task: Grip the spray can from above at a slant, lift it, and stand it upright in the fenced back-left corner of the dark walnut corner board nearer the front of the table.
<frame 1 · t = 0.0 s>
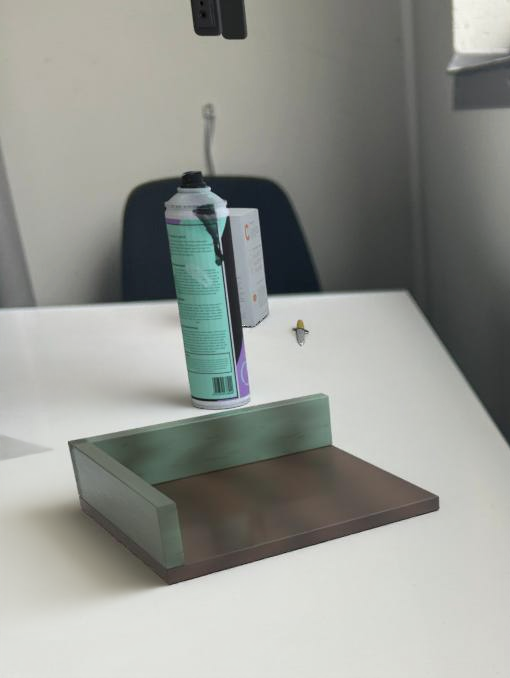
hand: (222, 37, 88), 30 cm above the table, tool pointing down, fingers open, 8 cm apart
dagger: (301, 337, 123), on the table
corner board: (259, 509, 72), on the table
spray can: (221, 403, 97), on the table
small box: (238, 322, 131), on the table
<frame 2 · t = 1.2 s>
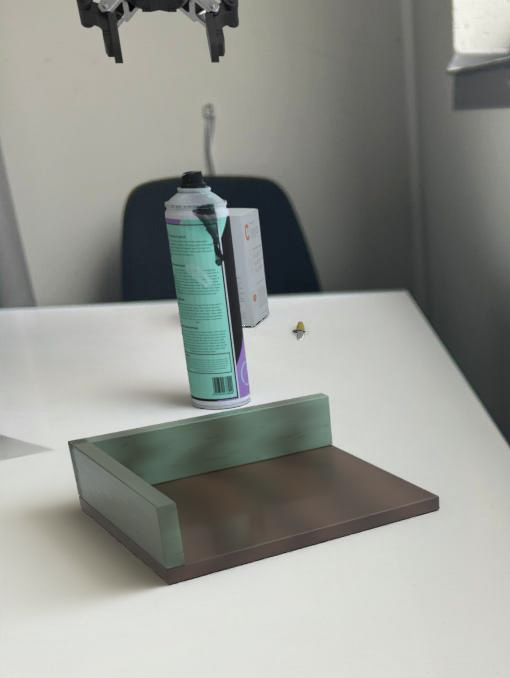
hand: (167, 55, 93), 29 cm above the table, tool tilted 45°, fingers open, 8 cm apart
nothing on the table moved.
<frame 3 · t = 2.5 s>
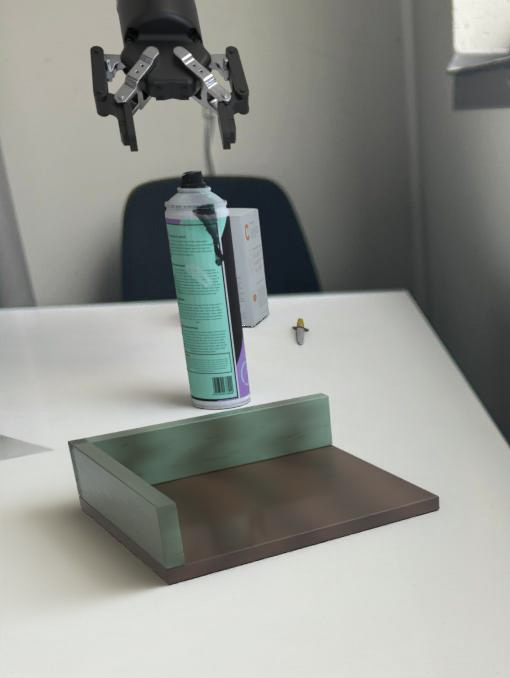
hand: (181, 144, 96), 22 cm above the table, tool tilted 45°, fingers open, 8 cm apart
nothing on the table moved.
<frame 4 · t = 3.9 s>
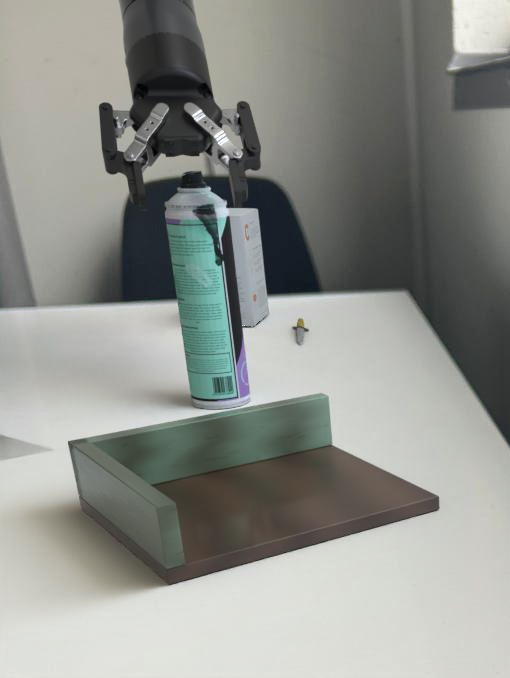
hand: (191, 203, 94), 17 cm above the table, tool tilted 45°, fingers open, 8 cm apart
nothing on the table moved.
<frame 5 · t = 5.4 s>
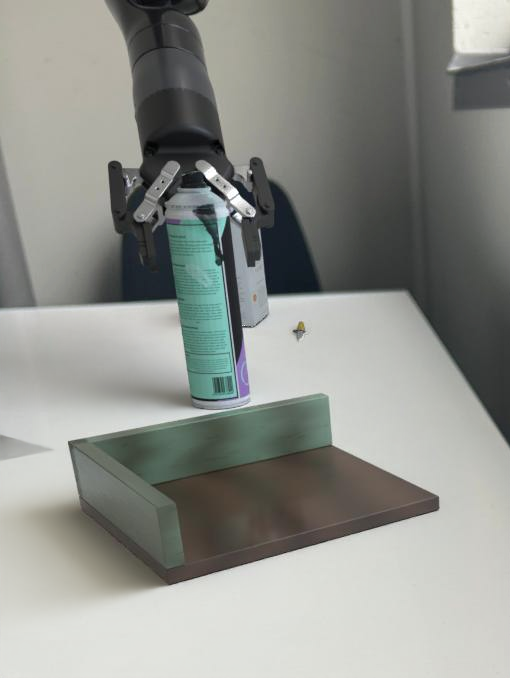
hand: (203, 264, 91), 12 cm above the table, tool tilted 45°, fingers open, 8 cm apart
nothing on the table moved.
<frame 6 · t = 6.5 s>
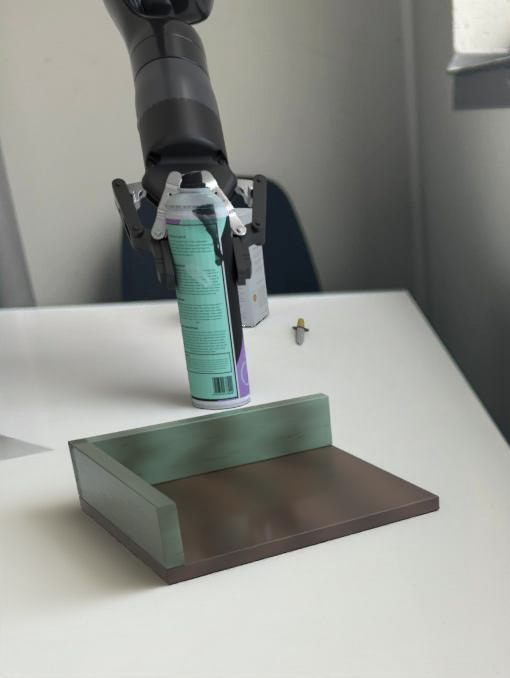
hand: (207, 281, 90), 11 cm above the table, tool tilted 45°, fingers closed on spray can, 5 cm apart
spray can: (221, 403, 97), on the table, touching gripper
everything else where it was.
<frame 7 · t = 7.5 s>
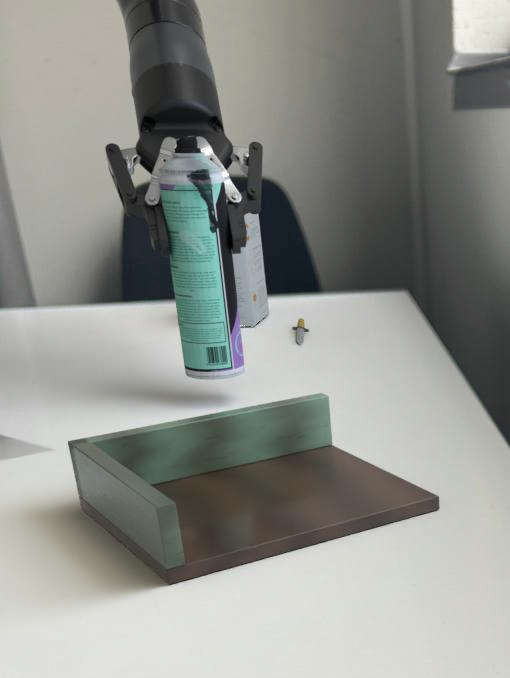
hand: (201, 248, 89), 14 cm above the table, tool tilted 45°, fingers closed on spray can, 5 cm apart
spray can: (215, 374, 96), point 3 cm above the table, touching gripper
everything else where it was.
when the fingers open (12 cm above the table, at t = 16.9 s): spray can stays where it is, resting on corner board.
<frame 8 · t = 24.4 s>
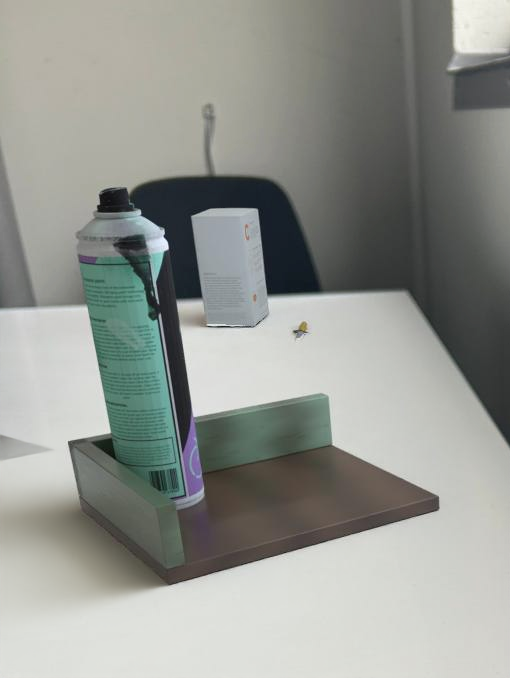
spray can: (165, 501, 72), point 1 cm above the table, touching corner board
everything else where it was.
at the end: spray can 0.1 cm from the target spot on the corner board, point 0.8 cm above the corner board's base; spray can tilted 0°; the gripper is holding nothing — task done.
